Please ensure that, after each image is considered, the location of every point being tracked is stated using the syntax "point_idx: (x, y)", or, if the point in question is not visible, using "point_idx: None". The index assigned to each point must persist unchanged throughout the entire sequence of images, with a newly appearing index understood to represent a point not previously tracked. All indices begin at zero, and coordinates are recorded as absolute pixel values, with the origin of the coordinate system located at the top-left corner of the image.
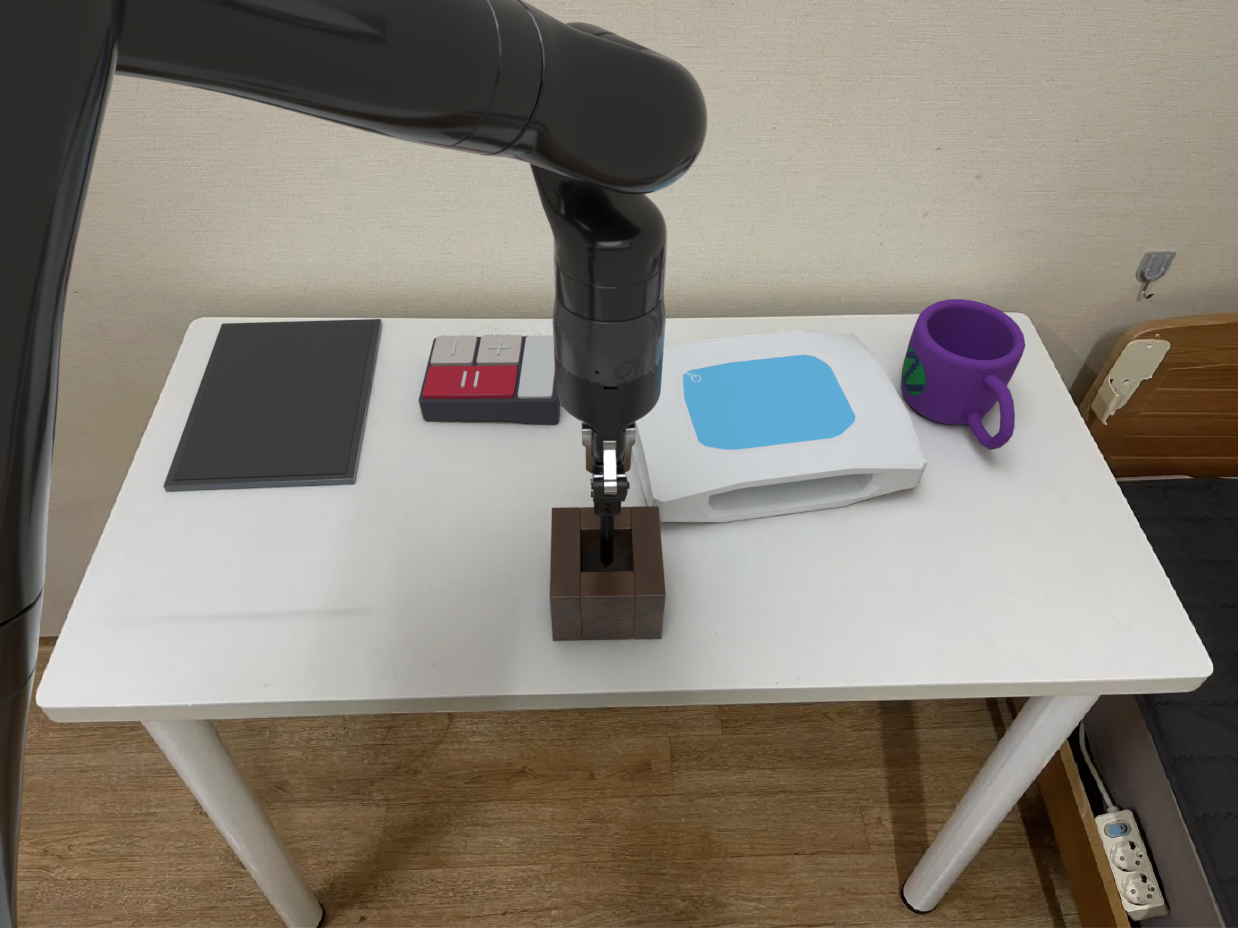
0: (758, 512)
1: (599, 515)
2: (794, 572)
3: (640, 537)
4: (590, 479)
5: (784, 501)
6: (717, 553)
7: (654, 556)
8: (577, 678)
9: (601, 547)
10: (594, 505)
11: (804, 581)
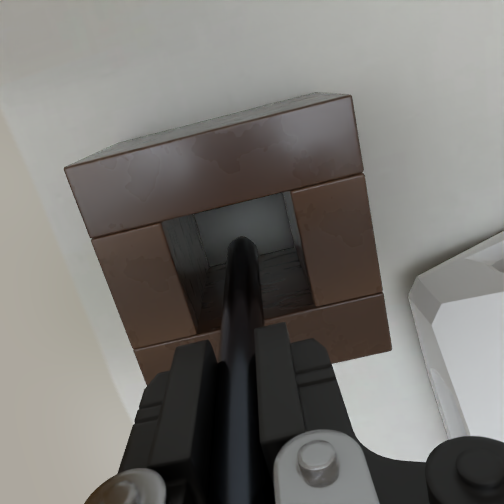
0: (449, 433)
1: (156, 377)
2: None
3: (293, 331)
4: (128, 500)
5: None
6: (363, 374)
7: None
8: (60, 205)
9: (229, 264)
10: (171, 373)
11: None
